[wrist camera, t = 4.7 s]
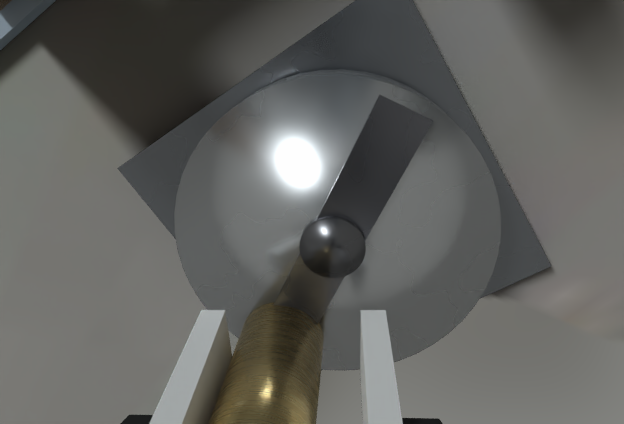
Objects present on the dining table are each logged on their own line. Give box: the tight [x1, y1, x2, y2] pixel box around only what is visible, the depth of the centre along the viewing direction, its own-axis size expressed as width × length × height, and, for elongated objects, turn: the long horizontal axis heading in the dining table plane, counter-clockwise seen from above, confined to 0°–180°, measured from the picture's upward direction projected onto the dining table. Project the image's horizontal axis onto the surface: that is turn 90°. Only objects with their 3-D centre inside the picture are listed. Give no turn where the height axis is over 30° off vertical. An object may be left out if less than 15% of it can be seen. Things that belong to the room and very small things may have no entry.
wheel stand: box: [118, 0, 551, 370], centre depth 16 cm, size 11×11×1 cm
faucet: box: [174, 69, 501, 424], centre depth 11 cm, size 10×10×11 cm
